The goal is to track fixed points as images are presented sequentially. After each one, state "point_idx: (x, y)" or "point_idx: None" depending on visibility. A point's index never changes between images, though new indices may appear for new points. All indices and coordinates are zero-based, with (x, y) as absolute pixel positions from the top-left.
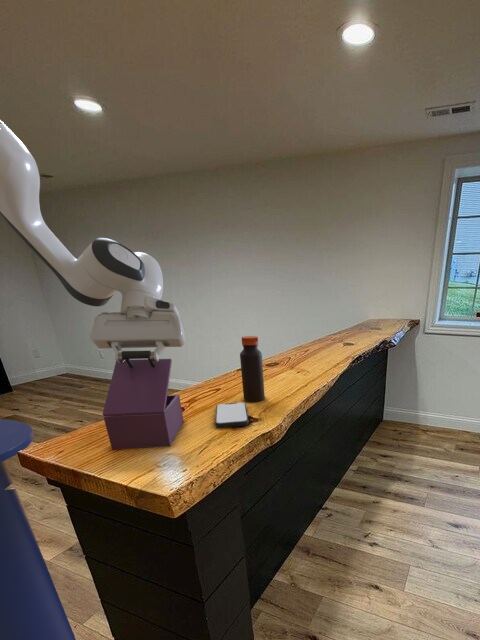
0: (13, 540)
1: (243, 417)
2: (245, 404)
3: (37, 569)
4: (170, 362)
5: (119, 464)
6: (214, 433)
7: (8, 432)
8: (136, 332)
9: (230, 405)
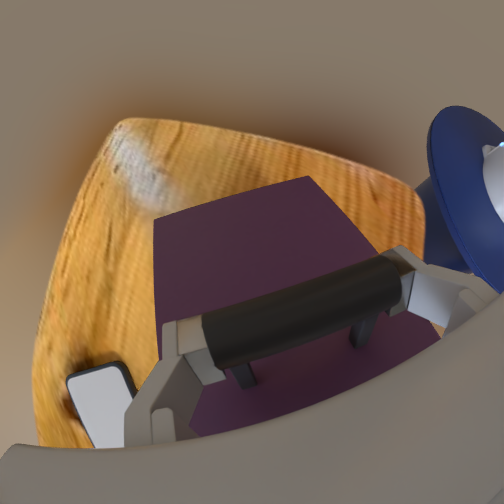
0: None
1: (78, 399)
2: None
3: None
4: None
5: (233, 165)
6: (115, 329)
7: (494, 255)
8: (410, 450)
9: None
